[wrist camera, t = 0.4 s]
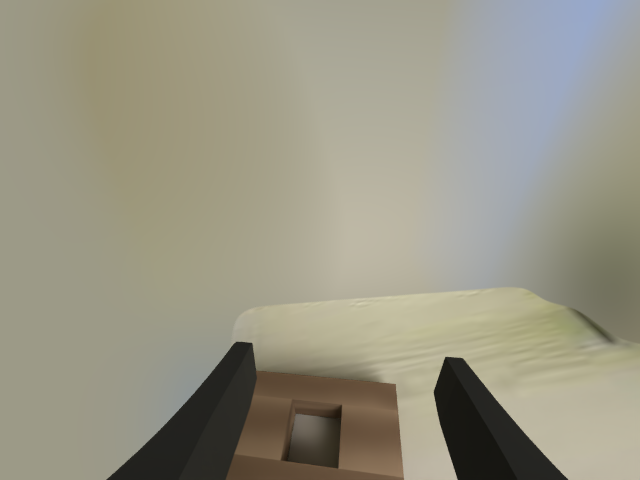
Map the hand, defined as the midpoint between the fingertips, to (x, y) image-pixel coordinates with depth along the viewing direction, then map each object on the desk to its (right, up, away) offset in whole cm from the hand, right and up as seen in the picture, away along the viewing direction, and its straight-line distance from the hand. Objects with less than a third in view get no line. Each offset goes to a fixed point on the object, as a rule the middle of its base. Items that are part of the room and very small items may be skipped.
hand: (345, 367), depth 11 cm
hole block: (-1, -13, +14) cm, 19 cm away
